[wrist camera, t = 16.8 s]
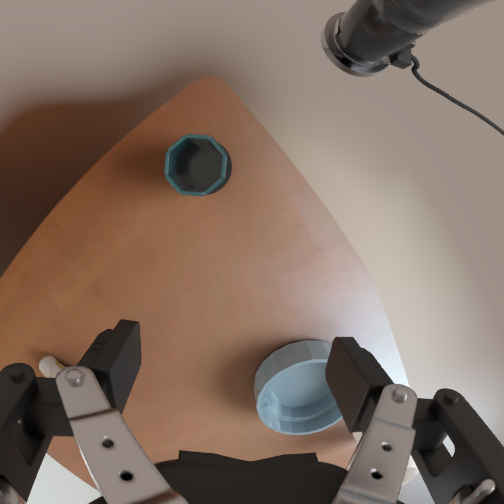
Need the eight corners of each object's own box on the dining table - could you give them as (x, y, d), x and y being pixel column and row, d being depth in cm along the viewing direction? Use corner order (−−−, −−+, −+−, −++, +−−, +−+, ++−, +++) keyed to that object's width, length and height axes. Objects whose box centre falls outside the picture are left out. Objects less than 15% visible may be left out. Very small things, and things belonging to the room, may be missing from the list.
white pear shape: (46, 340, 43) (48, 376, 36) (90, 360, 50) (99, 396, 42) (33, 367, 43) (34, 404, 35) (74, 385, 49) (82, 421, 41)
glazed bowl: (357, 338, 47) (371, 357, 41) (334, 409, 51) (344, 431, 45) (259, 336, 45) (263, 358, 39) (249, 412, 49) (251, 435, 43)
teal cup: (229, 145, 38) (229, 136, 29) (224, 192, 39) (222, 198, 30) (181, 141, 37) (167, 133, 28) (177, 188, 38) (162, 193, 30)
